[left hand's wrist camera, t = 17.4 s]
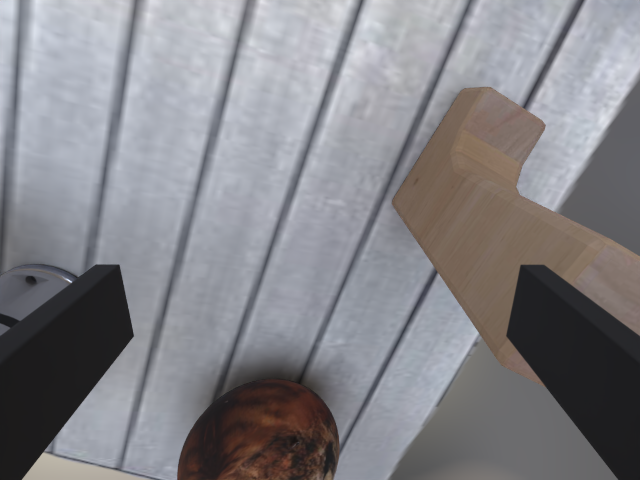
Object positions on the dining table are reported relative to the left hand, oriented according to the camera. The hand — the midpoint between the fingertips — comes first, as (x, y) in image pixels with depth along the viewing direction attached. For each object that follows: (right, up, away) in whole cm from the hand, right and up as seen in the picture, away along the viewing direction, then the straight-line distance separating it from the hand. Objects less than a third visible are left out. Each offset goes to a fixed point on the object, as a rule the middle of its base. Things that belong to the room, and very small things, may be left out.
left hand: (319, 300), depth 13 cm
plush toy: (-8, -23, +44) cm, 51 cm away
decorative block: (+15, +11, +32) cm, 37 cm away
